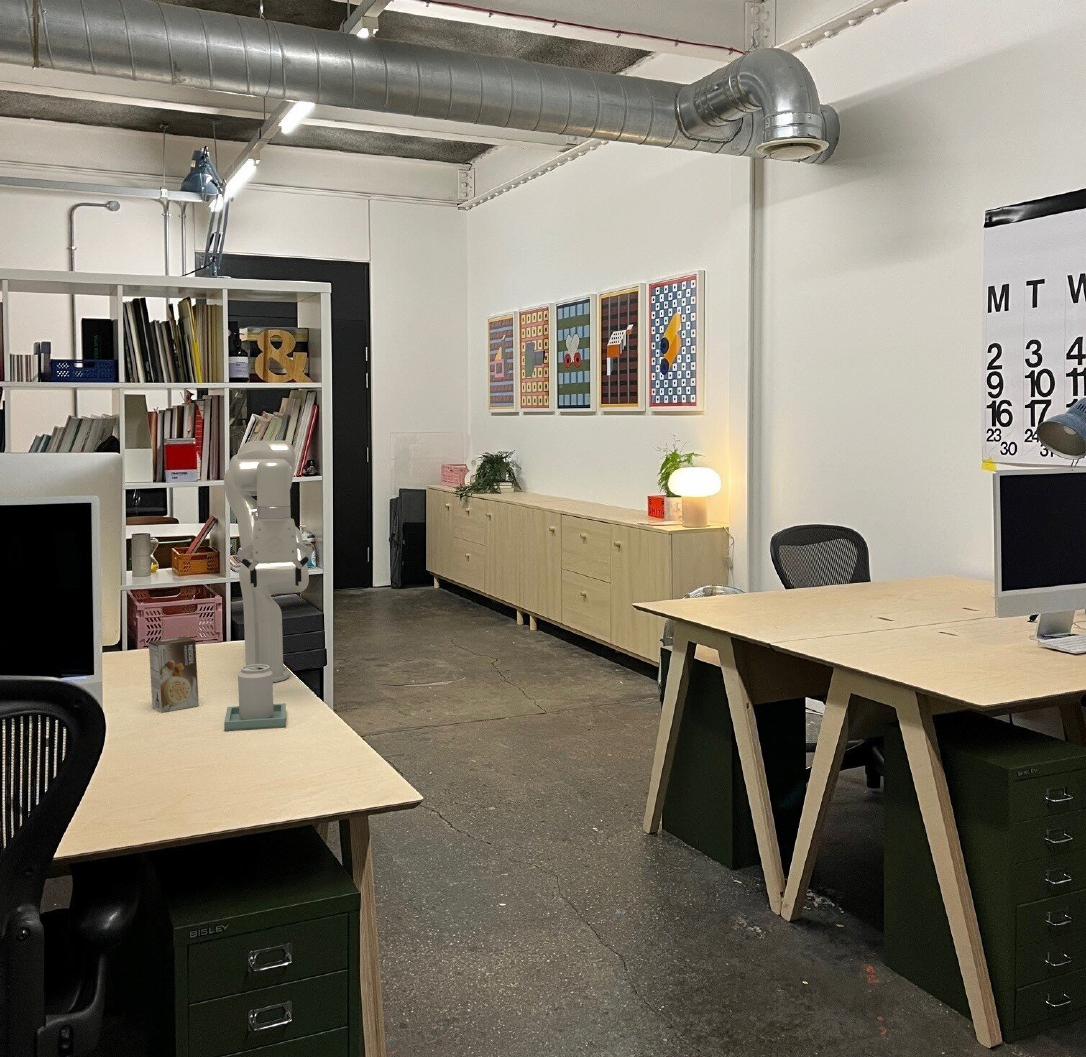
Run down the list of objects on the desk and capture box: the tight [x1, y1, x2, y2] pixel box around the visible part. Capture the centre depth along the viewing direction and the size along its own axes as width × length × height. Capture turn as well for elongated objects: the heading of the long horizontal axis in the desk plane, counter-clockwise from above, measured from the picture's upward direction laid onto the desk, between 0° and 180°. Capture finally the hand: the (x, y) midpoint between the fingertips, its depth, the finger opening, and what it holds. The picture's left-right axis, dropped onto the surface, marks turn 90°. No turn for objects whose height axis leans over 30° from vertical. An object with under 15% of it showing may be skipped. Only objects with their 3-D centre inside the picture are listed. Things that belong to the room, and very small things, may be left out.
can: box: [237, 664, 274, 720], centre depth 247 cm, size 8×8×12 cm
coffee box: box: [148, 635, 200, 713], centre depth 259 cm, size 9×6×16 cm
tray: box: [223, 703, 287, 732], centre depth 248 cm, size 13×13×2 cm
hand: (276, 585), depth 260 cm, fingers open, 9 cm apart
